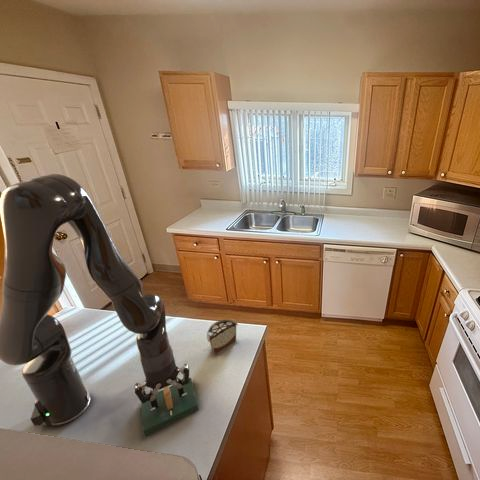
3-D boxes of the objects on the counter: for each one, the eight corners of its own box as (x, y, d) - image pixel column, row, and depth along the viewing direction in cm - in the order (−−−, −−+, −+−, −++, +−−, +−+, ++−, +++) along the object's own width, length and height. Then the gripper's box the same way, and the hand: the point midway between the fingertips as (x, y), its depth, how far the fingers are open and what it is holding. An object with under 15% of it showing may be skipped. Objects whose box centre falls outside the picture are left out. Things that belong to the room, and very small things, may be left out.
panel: (144, 436, 71) (142, 430, 70) (143, 403, 79) (141, 398, 78) (198, 409, 79) (197, 403, 78) (191, 382, 87) (190, 377, 86)
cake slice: (230, 332, 109) (228, 314, 105) (239, 340, 105) (237, 321, 101) (203, 349, 100) (199, 329, 96) (211, 358, 96) (208, 338, 92)
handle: (173, 407, 76) (169, 395, 74) (167, 410, 76) (164, 398, 73) (170, 393, 80) (167, 381, 78) (165, 395, 80) (162, 383, 78)
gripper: (126, 382, 64) (141, 424, 71) (188, 358, 72) (196, 397, 79) (126, 361, 70) (140, 402, 77) (184, 341, 78) (192, 379, 84)
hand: (168, 399), depth 78 cm, fingers open, 6 cm apart
